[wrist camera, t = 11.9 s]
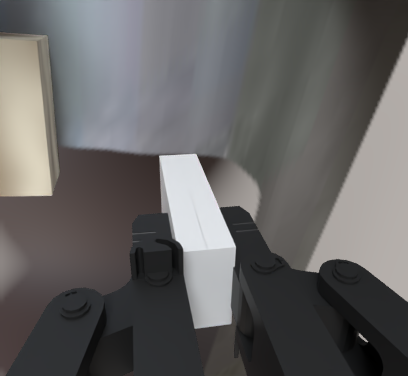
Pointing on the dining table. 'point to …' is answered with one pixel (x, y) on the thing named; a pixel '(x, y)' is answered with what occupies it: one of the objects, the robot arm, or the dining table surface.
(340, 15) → the dining table surface
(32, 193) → the maple block
